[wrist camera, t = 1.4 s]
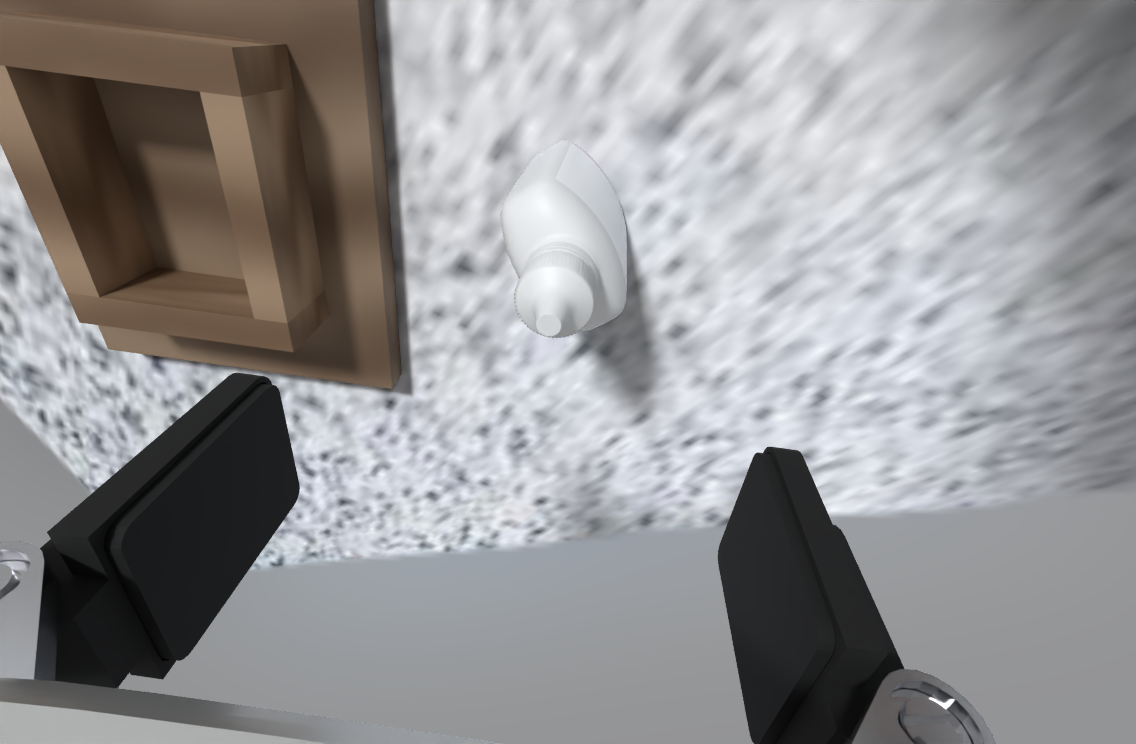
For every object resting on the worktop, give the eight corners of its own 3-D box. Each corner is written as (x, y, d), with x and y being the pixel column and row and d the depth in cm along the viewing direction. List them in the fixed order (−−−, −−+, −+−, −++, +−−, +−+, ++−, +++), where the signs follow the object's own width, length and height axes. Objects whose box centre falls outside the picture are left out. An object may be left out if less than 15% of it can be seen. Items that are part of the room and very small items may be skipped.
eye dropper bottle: (629, 136, 23) (632, 223, 13) (626, 261, 26) (626, 409, 16) (528, 138, 23) (455, 224, 13) (536, 261, 27) (482, 406, 16)
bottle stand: (-52, -126, 20) (-229, -165, 16) (368, -73, 20) (299, -98, 16) (128, 336, 31) (52, 384, 27) (401, 374, 31) (366, 429, 27)
